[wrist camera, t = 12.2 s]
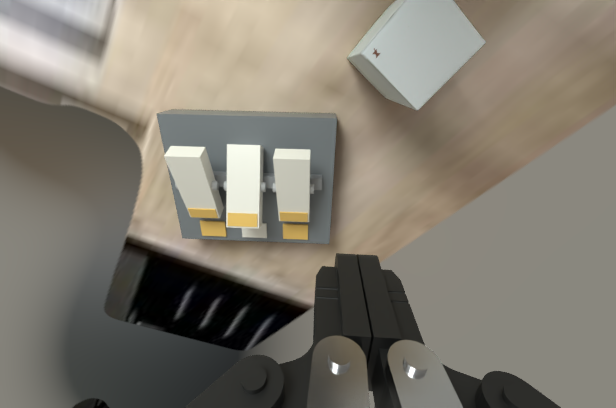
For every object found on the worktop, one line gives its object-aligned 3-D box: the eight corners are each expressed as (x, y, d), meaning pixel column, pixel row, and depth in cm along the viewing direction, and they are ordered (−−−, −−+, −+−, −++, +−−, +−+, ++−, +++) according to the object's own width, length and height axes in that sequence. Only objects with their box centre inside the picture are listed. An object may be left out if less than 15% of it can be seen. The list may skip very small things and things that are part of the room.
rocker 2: (270, 148, 32) (268, 159, 30) (314, 149, 32) (314, 160, 30) (277, 210, 39) (275, 221, 37) (313, 211, 39) (312, 223, 37)
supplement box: (385, 100, 36) (415, 114, 25) (345, 57, 34) (357, 52, 23) (432, 51, 34) (489, 43, 22) (391, 2, 32) (430, -35, 20)
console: (172, 109, 38) (150, 115, 33) (335, 113, 37) (337, 120, 32) (193, 224, 46) (178, 243, 41) (328, 229, 45) (329, 249, 40)
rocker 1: (166, 145, 32) (158, 156, 31) (209, 147, 32) (203, 158, 30) (191, 206, 39) (186, 218, 38) (227, 207, 39) (223, 219, 38)
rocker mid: (228, 146, 35) (222, 143, 33) (267, 147, 35) (264, 145, 33) (227, 224, 36) (221, 227, 34) (265, 225, 36) (262, 228, 34)
